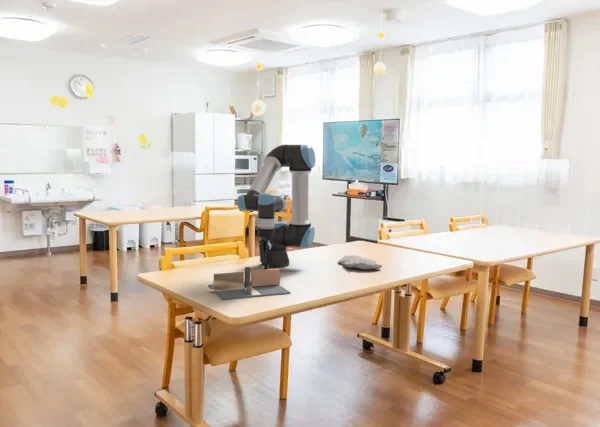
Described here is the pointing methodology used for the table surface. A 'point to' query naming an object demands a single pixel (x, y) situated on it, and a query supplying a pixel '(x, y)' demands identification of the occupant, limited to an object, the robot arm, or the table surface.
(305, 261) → the table surface
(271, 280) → the hinged panel
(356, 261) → the stone
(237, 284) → the base
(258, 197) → the robot arm
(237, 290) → the card
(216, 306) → the table surface
